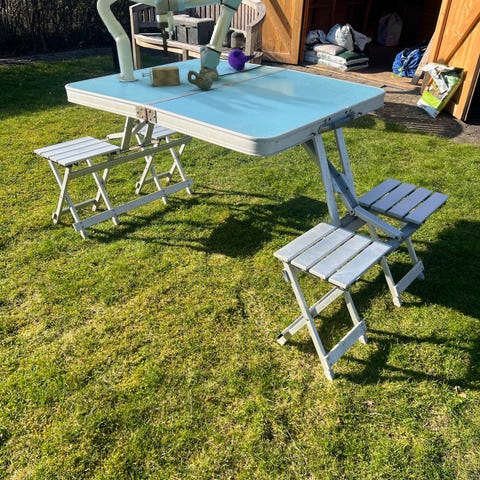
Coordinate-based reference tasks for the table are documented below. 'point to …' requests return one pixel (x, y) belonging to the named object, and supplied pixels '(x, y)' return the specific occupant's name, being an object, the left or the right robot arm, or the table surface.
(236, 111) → the table surface
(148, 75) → the drawer
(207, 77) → the teapot
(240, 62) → the toy
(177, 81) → the cabinet
